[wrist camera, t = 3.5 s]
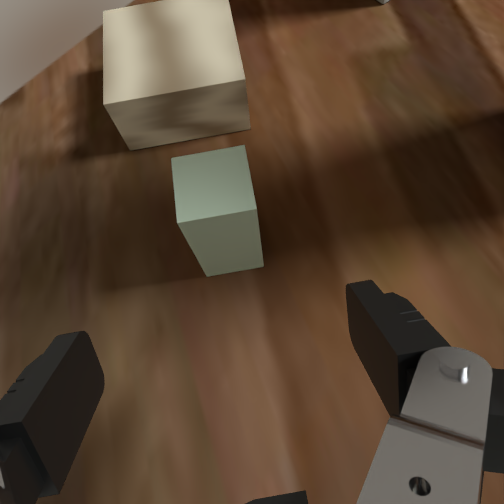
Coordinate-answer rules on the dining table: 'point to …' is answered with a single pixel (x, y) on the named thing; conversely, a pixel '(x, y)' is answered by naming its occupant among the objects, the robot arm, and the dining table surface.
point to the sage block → (218, 210)
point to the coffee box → (383, 1)
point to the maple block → (173, 72)
